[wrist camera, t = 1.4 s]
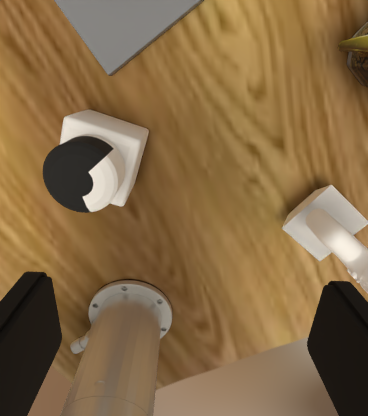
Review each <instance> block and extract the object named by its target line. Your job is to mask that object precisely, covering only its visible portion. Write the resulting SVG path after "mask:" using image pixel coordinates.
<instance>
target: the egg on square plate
mask: <svg viewBox="0 0 368 416" xmlns="http://www.w3.org/2000/svg"><path fill="white" fill-rule="evenodd" d="M54 1H55V2H56V3H57V5H58V6H59V8H60V9H61V10H62V12H63V13H64V14H65V16H66V17H67V19H68V20H69V21H70V23H71V24H72V26H73V27H74V28H75V30H76V31H77V33H78V34H79V35H80V37H81V38H82V39H83V41H84V42H85V44H86V45H87V46H88V48H89V49H90V51H91V52H92V53H93V55H94V56H95V58H96V59H97V60H98V62H99V63H100V64H101V66H102V67H103V69H104V70H105V71H106V73H107V74H108V75H111V76H112V75H113V74H114V73H116V72H117V71H118V70H119V69H120V68H122V67H123V66H124V65H125V64H127V63H128V62H129V61H130V60H131V59H133V58H134V57H135V56H136V55H138V54H139V53H140V52H141V51H142V50H144V49H145V48H146V47H147V46H149V45H150V44H151V43H152V42H154V41H155V40H156V39H157V38H158V37H160V36H161V35H162V34H163V33H165V32H166V31H167V30H168V29H169V28H171V27H172V26H173V25H174V24H176V23H177V22H178V21H179V20H180V19H182V18H183V17H184V16H185V15H187V14H188V13H189V12H190V11H191V10H193V9H194V8H195V7H196V6H198V5H199V4H200V3H201V2H203V1H204V0H54Z"/></svg>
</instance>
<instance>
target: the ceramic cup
mask: <svg viewBox="0 0 368 416" xmlns="http://www.w3.org/2000/svg"><path fill="white" fill-rule="evenodd" d="M338 50H339V51H344V52H349V54H348V60H347V66H348V68H349V69H350V70H351V72H352V73H353V74H354V76H355V77H356V78H357V80H358V81H359V82H360V83H361V84H362V85H364V86H366V87H368V22H367V23H366V24H365V25H364V26H363V27H362V28H361V29H360V30H359V31H358V32H357V33H356V34H355V35H354V36H353V37H352V39H348V40H344V41H341V42H340V43H339V46H338Z"/></svg>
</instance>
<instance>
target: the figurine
mask: <svg viewBox="0 0 368 416" xmlns="http://www.w3.org/2000/svg"><path fill="white" fill-rule="evenodd" d="M367 224H368V221H367V220H366V219H365V218H364V217H363V216H362V215H361V214H360V213H359V212H358V211H357V210H356V209H355V208H354V207H353V206H352V205H351V204H350V203H349V202H348V201H347V200H346V199H345V198H344V197H343V196H342V195H341V194H340V193H339V192H338V191H337V190H336V189H335V188H334V187H333V186H332V185H329V186H326V187H323V188H320V189H317V190H315V191H314V192H313V193H312V194H310V195H309V196H308V197H307V198H306V199H305V200H304V201H303V202H301V203H300V204H299V205H298V206H297V207H296V208H295V209H294V210H292V211H291V212H290V213H289V214H288V216H287V218H286V220H285V222H284V225H283V227H282V229H283V230H284V231H285V232H287V233H288V234H289V235H290V236H291V237H292V238H293V239H295V240H296V241H297V242H298V243H299V244H300V245H301V246H303V247H304V248H305V249H306V250H307V251H308V252H310V253H311V254H312V255H313V256H314V257H315V258H316V259H318V260H319V261H321V260H323V259H324V258H325V257H326V256H328V255H329V254H330V253H331V252H333V253H334V254H335V255H336V256H337V257H338V258H339V259H340V260H341V262H342V263H343V264H344V265H345V266H346V267H347V268H348V269H347V271H348V273H349V274H350V275H351V276H352V277H353V278H354V279H355V280H356V282H357V283H360V285H361V287H362V288H363V289H364V290H365V291H366V292H367V294H368V248H366V247H365V246H364V245H363V244H362V243H361V242H360V241H359V240H358V239H357V238H355V237H354V236H353V235H354V234H356V233H357V232H358V231H359V230H361V229H362V228H363V227H365V226H366V225H367Z"/></svg>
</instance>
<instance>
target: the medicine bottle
mask: <svg viewBox="0 0 368 416" xmlns="http://www.w3.org/2000/svg"><path fill="white" fill-rule="evenodd" d="M148 134H149V130H148V129H147V128H144V127H141V126H138V125H135V124H132V123H129V122H126V121H123V120H120V119H117V118H114V117H111V116H108V115H105V114H102V113H99V112H96V111H93V110H90V109H88V110H85V111H81V112H78V113H75V114H71V115H68V116H65V117H64V120H63V126H62V133H61V140H60V145H58V146H57V147H55V148H54V149H53V150H52V151H51V152H50V153H49V154H48V155H47V157H46V159H45V161H44V165H43V179H44V182H45V185H46V187H47V189H48V191H49V193H50V194H51V195H52V197H53V198H54V199H55V200H56V201H57V202H58V203H60V204H61V205H63V206H64V207H66V208H68V209H71V210H73V211H77V212H85V213H88V212H95V211H98V210H101V209H102V208H104V207H106V206H107V205H108V204H109V203H110V204H114V205H117V206H124V205H125V203H126V201H127V198H128V196H129V194H130V192H131V190H132V188H133V186H134V184H135V181H136V177H137V173H138V170H139V166H140V163H141V159H142V155H143V152H144V148H145V144H146V141H147V137H148Z"/></svg>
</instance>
